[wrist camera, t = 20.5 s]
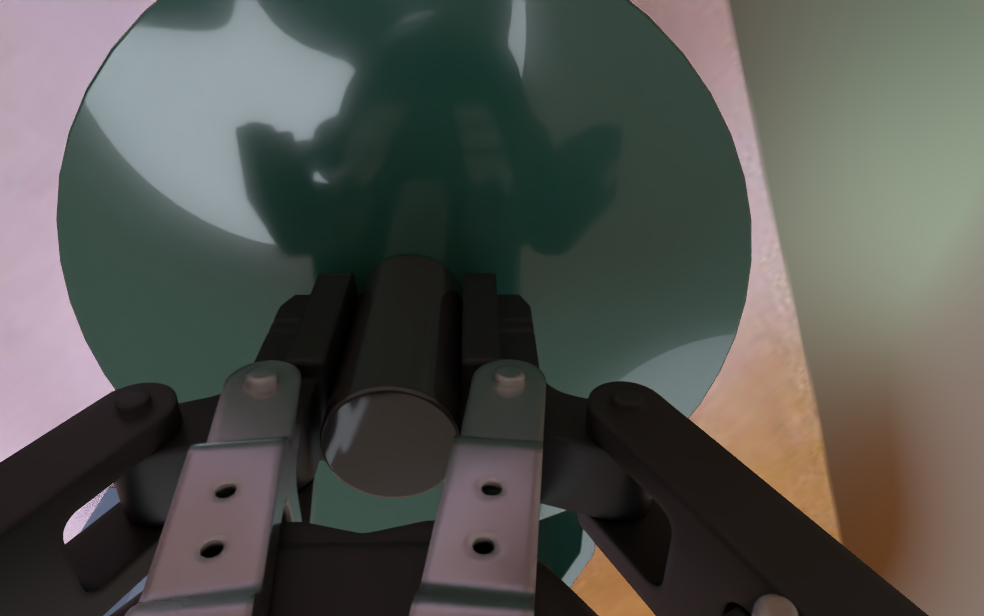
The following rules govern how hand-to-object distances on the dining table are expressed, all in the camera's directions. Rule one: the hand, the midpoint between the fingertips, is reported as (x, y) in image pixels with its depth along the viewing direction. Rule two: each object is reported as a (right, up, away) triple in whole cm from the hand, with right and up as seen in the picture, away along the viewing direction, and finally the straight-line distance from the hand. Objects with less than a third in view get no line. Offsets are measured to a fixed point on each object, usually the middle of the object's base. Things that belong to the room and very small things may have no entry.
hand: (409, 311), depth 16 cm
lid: (0, 0, +1) cm, 1 cm away
